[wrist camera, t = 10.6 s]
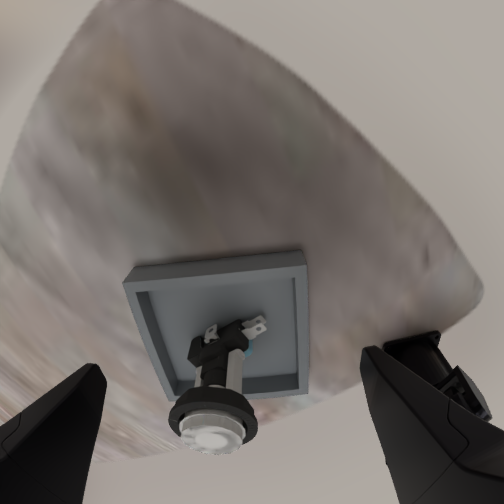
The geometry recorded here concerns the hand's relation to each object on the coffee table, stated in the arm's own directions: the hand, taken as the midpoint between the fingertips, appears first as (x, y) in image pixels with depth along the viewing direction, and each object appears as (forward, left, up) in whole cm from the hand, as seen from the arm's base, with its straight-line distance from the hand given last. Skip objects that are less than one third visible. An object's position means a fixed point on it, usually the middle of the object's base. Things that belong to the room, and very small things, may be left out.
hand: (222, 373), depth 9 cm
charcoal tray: (+2, +8, -13) cm, 15 cm away
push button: (+2, +8, -13) cm, 15 cm away
